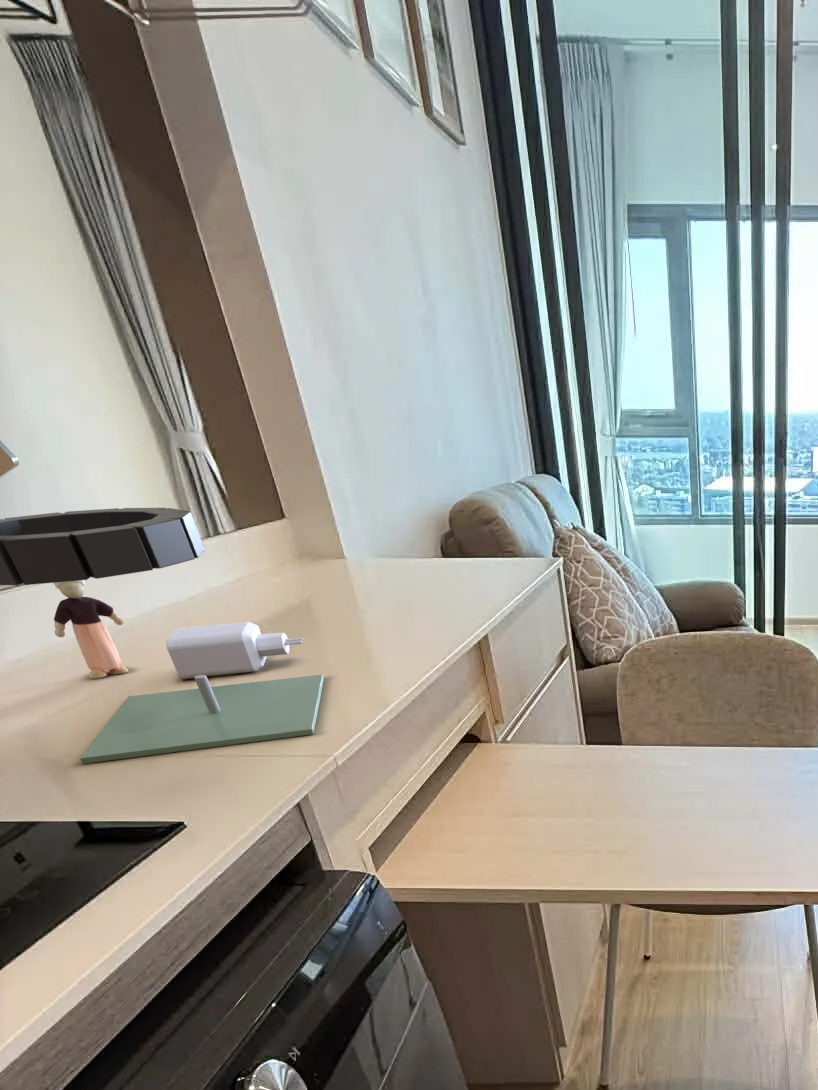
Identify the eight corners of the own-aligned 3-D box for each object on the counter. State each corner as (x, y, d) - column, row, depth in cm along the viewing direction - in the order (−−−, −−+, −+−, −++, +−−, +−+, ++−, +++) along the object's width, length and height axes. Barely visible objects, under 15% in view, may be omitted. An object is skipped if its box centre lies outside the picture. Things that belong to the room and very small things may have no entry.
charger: (306, 668, 112) (180, 682, 108) (311, 651, 119) (193, 663, 115) (293, 630, 109) (163, 642, 105) (298, 614, 116) (177, 626, 112)
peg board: (82, 764, 86) (58, 719, 83) (130, 701, 102) (111, 662, 100) (313, 734, 92) (298, 691, 89) (324, 679, 108) (311, 641, 105)
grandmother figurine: (90, 682, 109) (35, 573, 101) (75, 678, 110) (20, 570, 103) (150, 667, 114) (102, 562, 106) (134, 663, 116) (86, 560, 108)
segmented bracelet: (-83, 594, 62) (-110, 548, 61) (-4, 555, 76) (-24, 517, 74) (185, 571, 67) (167, 528, 65) (215, 539, 80) (202, 502, 78)
